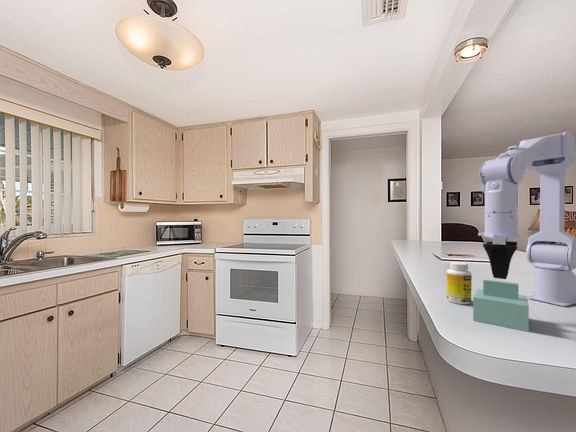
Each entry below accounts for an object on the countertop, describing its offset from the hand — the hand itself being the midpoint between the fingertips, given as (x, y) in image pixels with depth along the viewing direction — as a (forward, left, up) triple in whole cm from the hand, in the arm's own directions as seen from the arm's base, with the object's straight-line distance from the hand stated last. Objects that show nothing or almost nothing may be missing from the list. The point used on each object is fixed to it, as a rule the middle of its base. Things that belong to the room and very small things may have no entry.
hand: (500, 275), depth 60 cm
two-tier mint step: (0, 0, -10) cm, 10 cm away
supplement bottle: (-4, -12, -10) cm, 16 cm away
